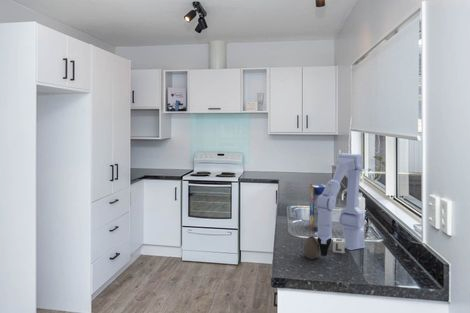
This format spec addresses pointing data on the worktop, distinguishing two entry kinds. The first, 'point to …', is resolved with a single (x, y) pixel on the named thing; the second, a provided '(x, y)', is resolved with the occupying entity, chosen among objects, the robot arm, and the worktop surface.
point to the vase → (311, 248)
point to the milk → (361, 204)
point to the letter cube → (338, 245)
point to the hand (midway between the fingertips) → (323, 255)
